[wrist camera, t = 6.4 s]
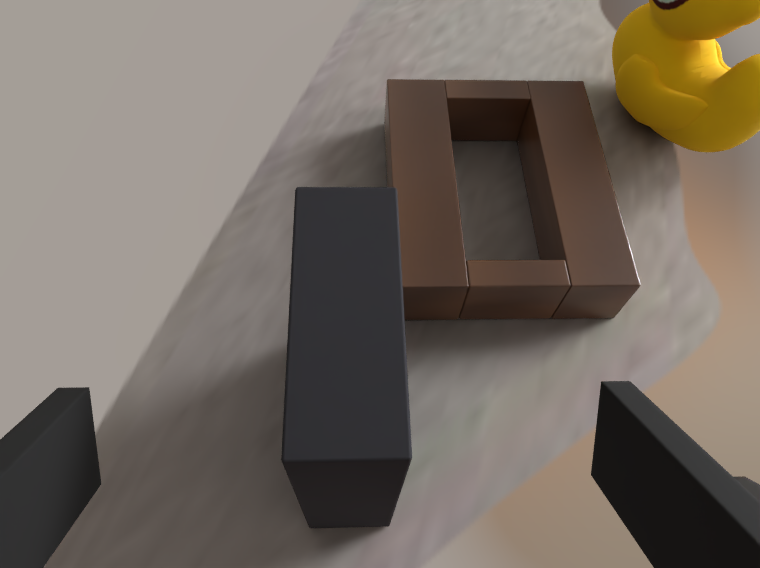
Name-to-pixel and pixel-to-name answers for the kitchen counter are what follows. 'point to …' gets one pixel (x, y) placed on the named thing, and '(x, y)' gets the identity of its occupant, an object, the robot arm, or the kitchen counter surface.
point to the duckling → (688, 72)
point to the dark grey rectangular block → (346, 358)
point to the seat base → (545, 193)
